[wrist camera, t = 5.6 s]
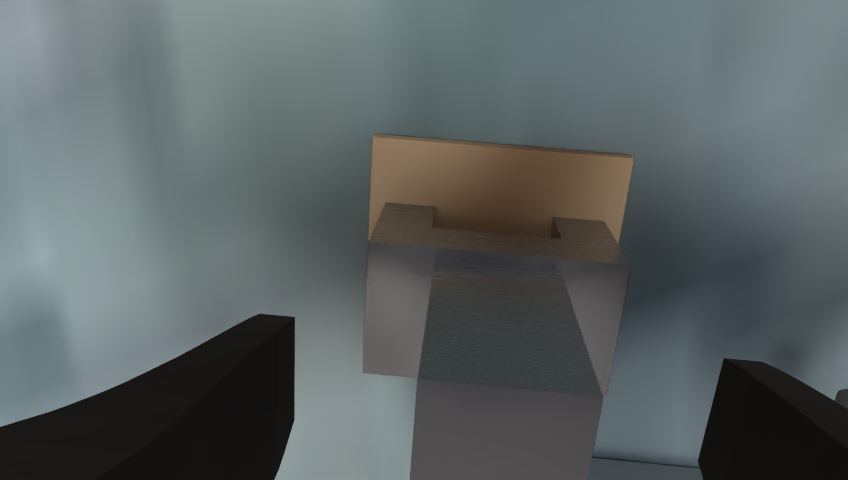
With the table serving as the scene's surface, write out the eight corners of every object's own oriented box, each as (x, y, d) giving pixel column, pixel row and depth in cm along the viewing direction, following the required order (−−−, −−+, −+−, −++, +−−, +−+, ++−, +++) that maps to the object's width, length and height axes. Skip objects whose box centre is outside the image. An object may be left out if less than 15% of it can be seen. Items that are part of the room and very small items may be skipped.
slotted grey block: (584, 334, 17) (665, 566, 10) (379, 315, 17) (316, 528, 10) (603, 220, 16) (709, 390, 9) (385, 202, 16) (319, 353, 9)
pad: (630, 154, 15) (633, 158, 15) (590, 378, 17) (592, 386, 17) (375, 133, 16) (373, 136, 15) (365, 355, 18) (362, 363, 17)
